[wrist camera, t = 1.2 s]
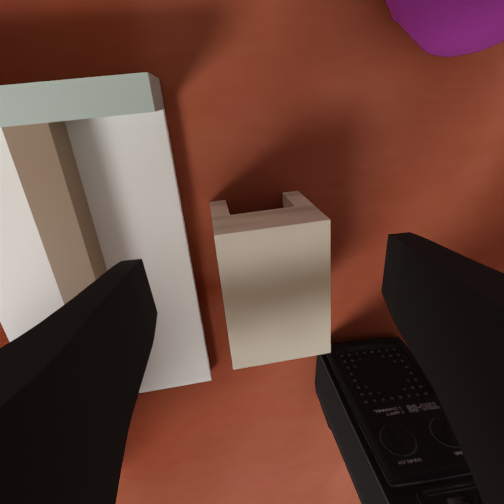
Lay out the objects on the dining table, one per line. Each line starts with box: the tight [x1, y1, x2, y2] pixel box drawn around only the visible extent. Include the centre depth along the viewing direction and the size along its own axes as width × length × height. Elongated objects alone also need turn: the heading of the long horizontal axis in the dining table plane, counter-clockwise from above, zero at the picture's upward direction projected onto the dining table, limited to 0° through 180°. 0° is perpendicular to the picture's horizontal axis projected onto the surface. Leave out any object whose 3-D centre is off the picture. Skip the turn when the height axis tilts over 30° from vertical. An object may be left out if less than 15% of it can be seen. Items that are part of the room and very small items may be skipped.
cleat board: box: [0, 72, 211, 393], centre depth 20 cm, size 20×12×5 cm, turn 5°
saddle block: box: [209, 191, 331, 370], centre depth 21 cm, size 8×6×6 cm
